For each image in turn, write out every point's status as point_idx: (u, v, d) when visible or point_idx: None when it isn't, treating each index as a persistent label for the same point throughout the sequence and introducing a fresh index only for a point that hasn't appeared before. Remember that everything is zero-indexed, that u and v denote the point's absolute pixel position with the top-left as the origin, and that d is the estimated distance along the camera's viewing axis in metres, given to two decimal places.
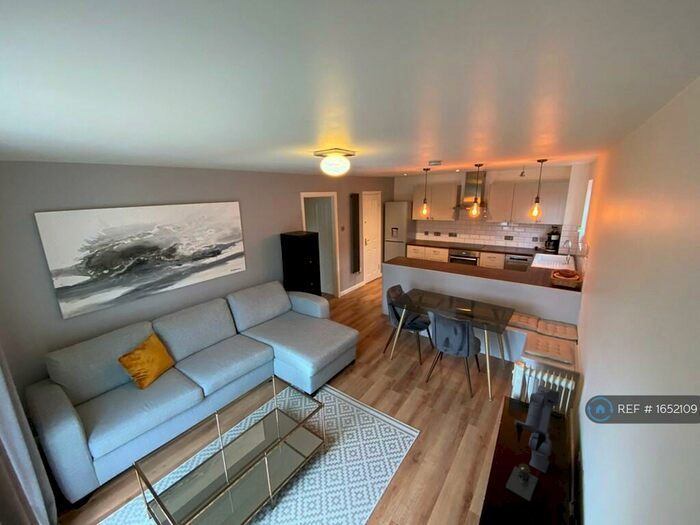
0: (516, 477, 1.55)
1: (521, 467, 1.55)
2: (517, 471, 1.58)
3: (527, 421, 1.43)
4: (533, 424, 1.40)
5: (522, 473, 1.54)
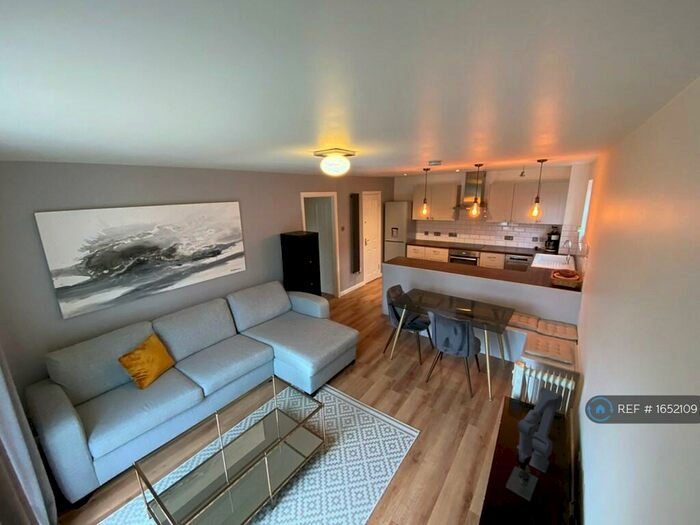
0: (516, 477, 1.55)
1: None
2: (517, 471, 1.58)
3: None
4: (519, 446, 1.53)
5: (522, 473, 1.54)
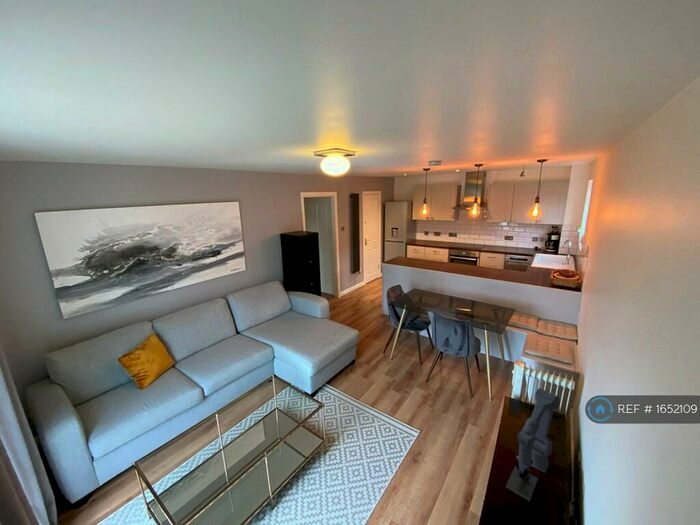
0: (516, 477, 1.55)
1: None
2: (517, 471, 1.58)
3: None
4: (519, 457, 1.55)
5: None
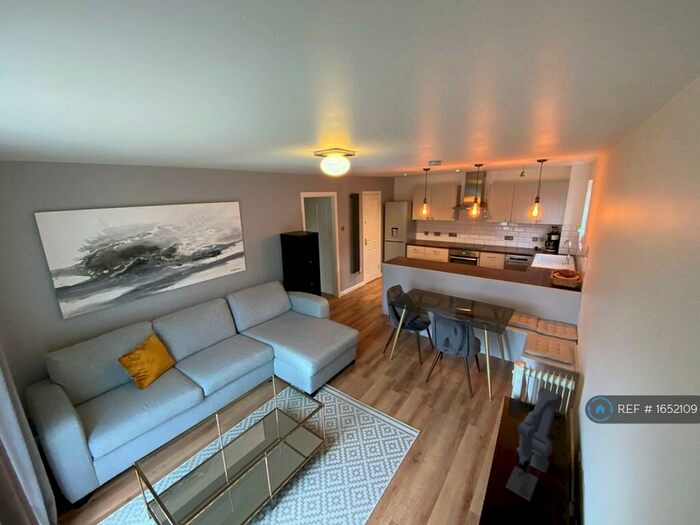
0: (516, 477, 1.55)
1: None
2: (517, 471, 1.58)
3: None
4: (519, 448, 1.54)
5: None
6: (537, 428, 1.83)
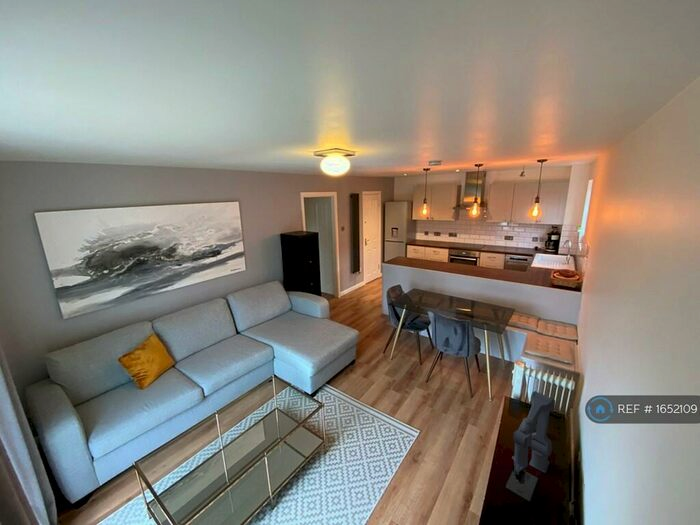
0: None
1: None
2: None
3: None
4: (514, 457, 1.48)
5: None
6: None
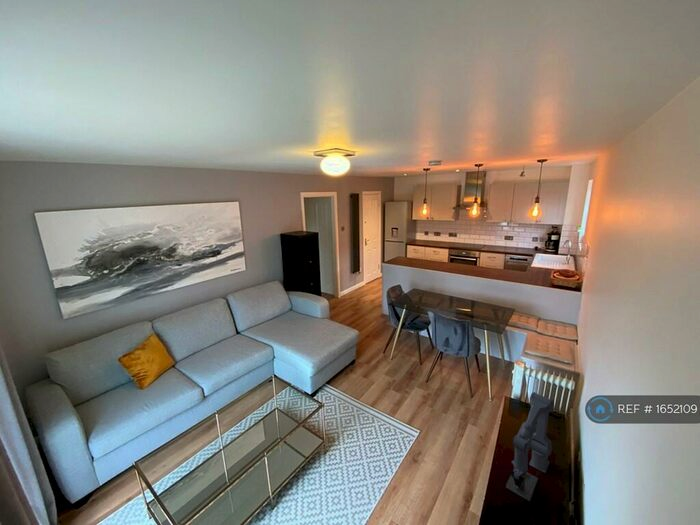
0: None
1: None
2: None
3: None
4: (514, 462, 1.49)
5: None
6: None
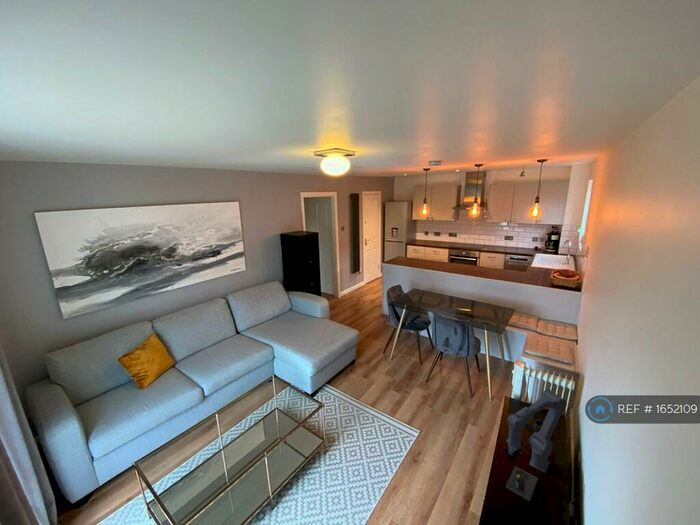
0: None
1: (517, 474, 1.49)
2: None
3: None
4: (508, 440, 1.58)
5: (518, 480, 1.49)
6: (536, 428, 1.83)
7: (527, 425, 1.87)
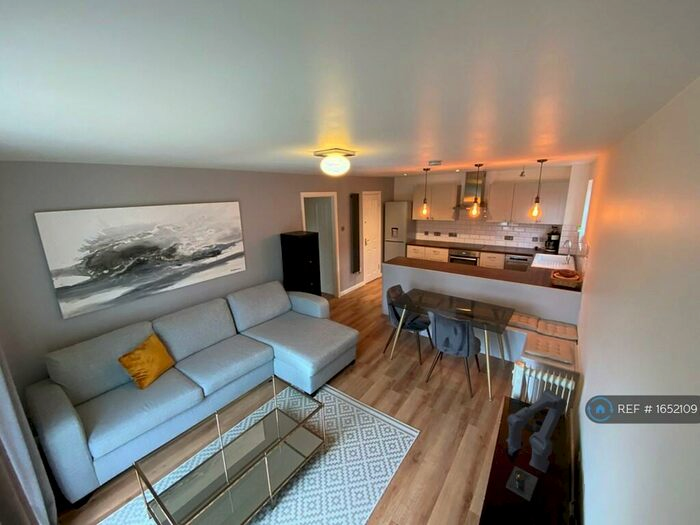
0: None
1: (517, 474, 1.49)
2: None
3: None
4: (508, 440, 1.58)
5: (518, 481, 1.49)
6: (535, 427, 1.83)
7: (527, 425, 1.88)
